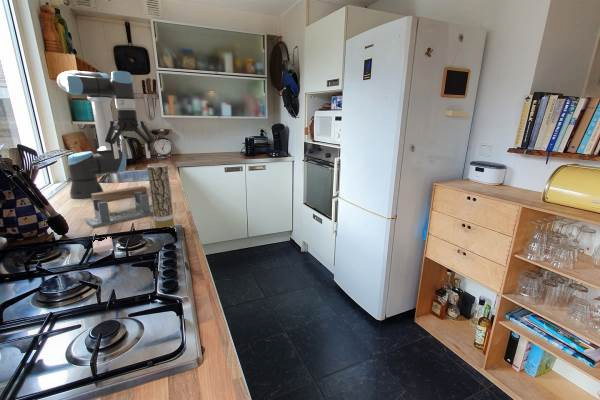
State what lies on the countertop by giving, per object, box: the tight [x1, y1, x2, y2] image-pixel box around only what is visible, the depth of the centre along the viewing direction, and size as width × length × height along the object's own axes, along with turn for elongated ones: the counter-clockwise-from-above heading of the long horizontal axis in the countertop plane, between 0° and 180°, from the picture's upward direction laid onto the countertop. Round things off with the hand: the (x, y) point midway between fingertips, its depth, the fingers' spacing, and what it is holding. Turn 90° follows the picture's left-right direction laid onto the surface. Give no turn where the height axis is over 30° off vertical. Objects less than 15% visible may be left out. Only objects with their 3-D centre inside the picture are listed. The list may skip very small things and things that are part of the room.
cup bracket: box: [84, 192, 154, 229], centre depth 131 cm, size 10×26×9 cm, turn 137°
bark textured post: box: [146, 162, 175, 229], centre depth 116 cm, size 7×7×25 cm
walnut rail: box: [91, 185, 148, 203], centre depth 142 cm, size 4×22×4 cm, turn 137°
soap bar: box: [92, 236, 114, 253], centre depth 101 cm, size 5×9×2 cm, turn 34°
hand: (132, 158), depth 139 cm, fingers open, 13 cm apart
